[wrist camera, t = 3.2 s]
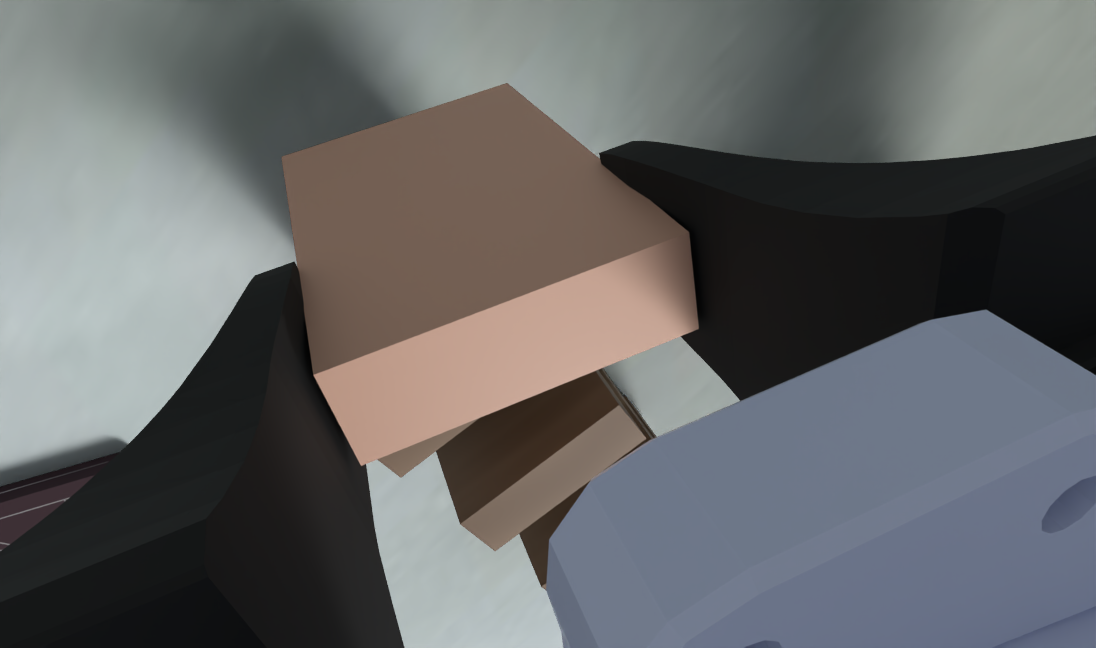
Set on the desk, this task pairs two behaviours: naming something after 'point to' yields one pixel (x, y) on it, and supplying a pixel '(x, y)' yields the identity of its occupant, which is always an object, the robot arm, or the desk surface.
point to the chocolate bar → (41, 497)
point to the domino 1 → (472, 267)
